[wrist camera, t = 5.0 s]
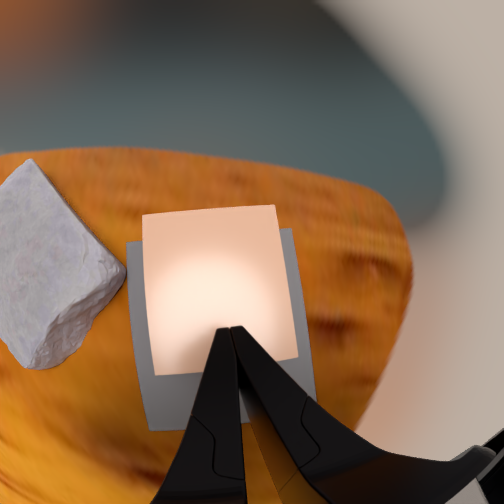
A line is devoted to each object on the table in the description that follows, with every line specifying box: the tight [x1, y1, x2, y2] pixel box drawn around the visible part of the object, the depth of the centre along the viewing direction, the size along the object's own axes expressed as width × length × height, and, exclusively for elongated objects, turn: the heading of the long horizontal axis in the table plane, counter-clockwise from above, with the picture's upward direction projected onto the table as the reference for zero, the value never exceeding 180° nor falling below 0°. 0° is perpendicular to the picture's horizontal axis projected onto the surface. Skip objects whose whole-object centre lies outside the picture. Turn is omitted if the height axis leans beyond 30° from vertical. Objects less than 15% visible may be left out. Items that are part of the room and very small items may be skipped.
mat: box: [126, 228, 317, 431], centre depth 15 cm, size 11×10×1 cm
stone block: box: [0, 159, 126, 370], centre depth 13 cm, size 12×5×10 cm
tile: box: [142, 205, 298, 375], centre depth 14 cm, size 2×7×8 cm
